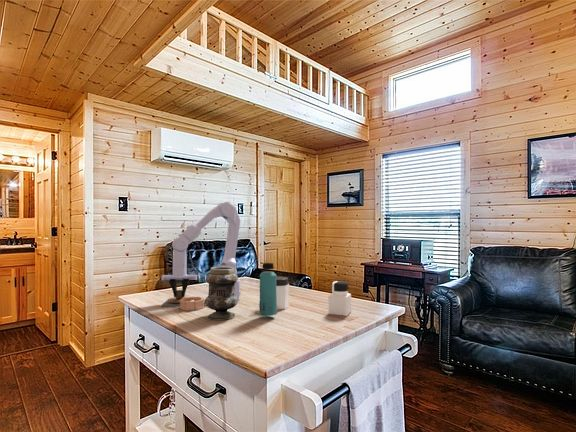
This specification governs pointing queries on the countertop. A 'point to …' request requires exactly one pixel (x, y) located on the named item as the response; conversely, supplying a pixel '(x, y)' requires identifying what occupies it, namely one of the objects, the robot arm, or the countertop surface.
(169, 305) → the mat
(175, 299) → the lid
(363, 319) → the countertop surface
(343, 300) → the medicine bottle
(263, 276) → the beverage bottle
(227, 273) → the apothecary jar
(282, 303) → the jar
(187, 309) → the bowl
